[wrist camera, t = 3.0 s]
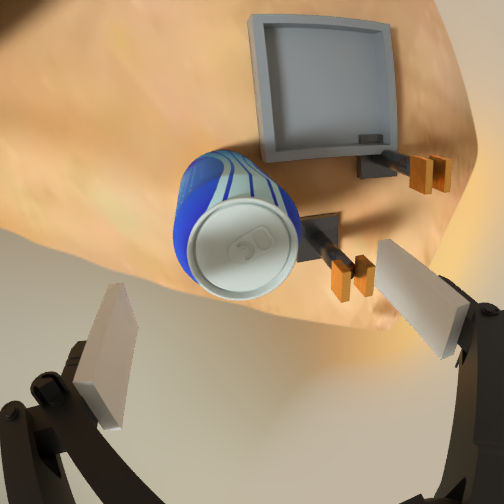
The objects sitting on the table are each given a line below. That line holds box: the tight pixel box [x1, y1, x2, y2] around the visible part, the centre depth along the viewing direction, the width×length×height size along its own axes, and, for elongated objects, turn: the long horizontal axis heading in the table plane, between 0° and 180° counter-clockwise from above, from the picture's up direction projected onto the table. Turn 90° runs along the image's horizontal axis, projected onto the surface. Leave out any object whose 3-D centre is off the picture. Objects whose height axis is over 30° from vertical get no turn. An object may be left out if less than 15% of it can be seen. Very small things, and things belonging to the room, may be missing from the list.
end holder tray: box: [247, 14, 398, 163], centre depth 29 cm, size 15×15×2 cm
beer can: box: [173, 150, 301, 300], centre depth 26 cm, size 8×8×16 cm
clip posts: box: [296, 134, 452, 303], centre depth 31 cm, size 13×14×11 cm
